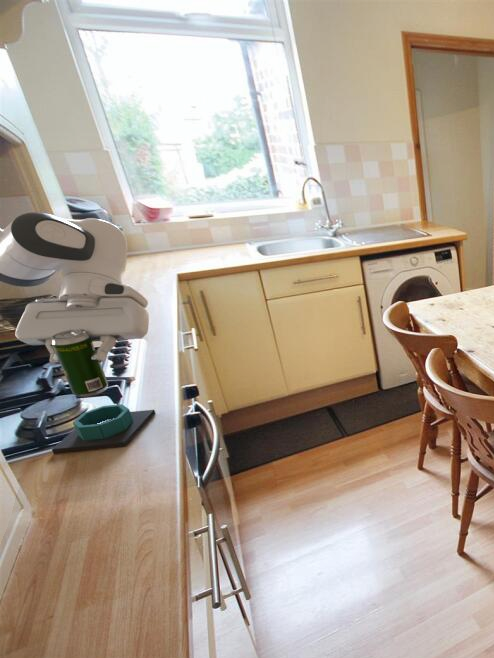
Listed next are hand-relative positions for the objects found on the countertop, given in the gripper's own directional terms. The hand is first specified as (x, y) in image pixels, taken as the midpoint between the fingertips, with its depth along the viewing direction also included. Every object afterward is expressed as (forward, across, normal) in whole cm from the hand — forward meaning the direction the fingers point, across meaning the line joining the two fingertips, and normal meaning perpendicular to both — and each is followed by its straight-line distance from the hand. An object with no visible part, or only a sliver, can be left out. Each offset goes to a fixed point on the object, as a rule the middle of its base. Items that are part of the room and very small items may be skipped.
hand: (77, 362), depth 87 cm
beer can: (+4, 0, +5) cm, 7 cm away
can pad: (+11, 0, +12) cm, 16 cm away
